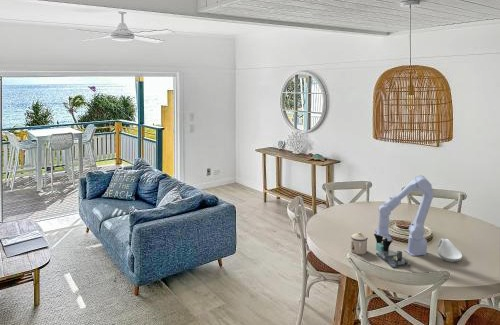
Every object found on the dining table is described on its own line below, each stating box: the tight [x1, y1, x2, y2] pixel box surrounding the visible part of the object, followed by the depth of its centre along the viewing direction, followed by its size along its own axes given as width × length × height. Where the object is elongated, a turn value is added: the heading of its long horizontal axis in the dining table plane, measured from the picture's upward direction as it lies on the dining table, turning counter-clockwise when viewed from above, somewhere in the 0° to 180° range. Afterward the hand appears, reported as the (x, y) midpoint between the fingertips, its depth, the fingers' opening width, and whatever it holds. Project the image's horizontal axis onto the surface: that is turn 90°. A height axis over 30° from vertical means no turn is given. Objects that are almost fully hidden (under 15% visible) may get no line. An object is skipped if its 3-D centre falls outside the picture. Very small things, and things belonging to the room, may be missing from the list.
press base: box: [375, 249, 411, 269], centre depth 215 cm, size 10×18×2 cm, turn 11°
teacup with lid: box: [350, 231, 369, 255], centre depth 224 cm, size 12×9×12 cm
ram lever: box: [393, 250, 405, 265], centre depth 209 cm, size 4×6×6 cm, turn 11°
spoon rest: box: [437, 238, 463, 263], centre depth 219 cm, size 24×12×7 cm, turn 167°
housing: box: [375, 242, 390, 252], centre depth 227 cm, size 5×5×5 cm
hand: (382, 248), depth 227 cm, fingers open, 6 cm apart
